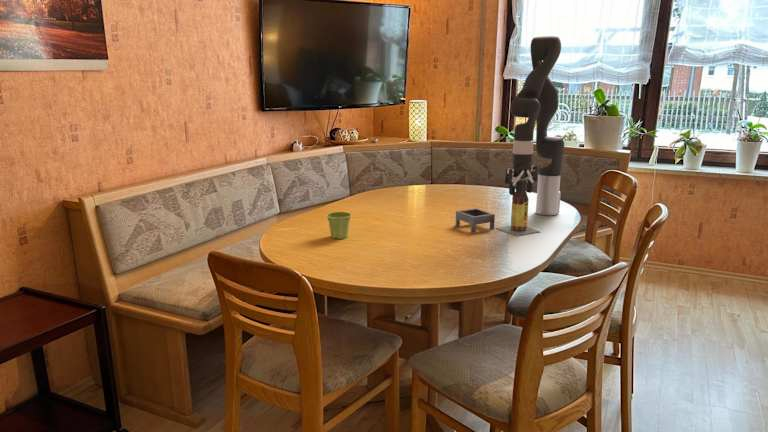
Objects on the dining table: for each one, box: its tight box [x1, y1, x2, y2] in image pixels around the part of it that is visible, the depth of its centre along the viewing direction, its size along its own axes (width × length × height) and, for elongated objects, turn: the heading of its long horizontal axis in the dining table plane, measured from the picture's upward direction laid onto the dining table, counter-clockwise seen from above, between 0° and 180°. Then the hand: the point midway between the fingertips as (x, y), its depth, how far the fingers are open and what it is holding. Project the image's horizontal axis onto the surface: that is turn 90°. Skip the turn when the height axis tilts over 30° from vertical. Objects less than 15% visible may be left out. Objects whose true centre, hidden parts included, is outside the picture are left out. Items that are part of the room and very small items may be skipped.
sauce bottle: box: [510, 178, 530, 231], centre depth 224 cm, size 6×6×20 cm
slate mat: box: [495, 225, 541, 237], centre depth 226 cm, size 12×12×1 cm
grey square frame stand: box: [455, 207, 496, 233], centre depth 230 cm, size 10×11×6 cm
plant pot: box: [325, 211, 352, 240], centre depth 216 cm, size 9×9×9 cm
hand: (520, 193), depth 223 cm, fingers open, 8 cm apart
